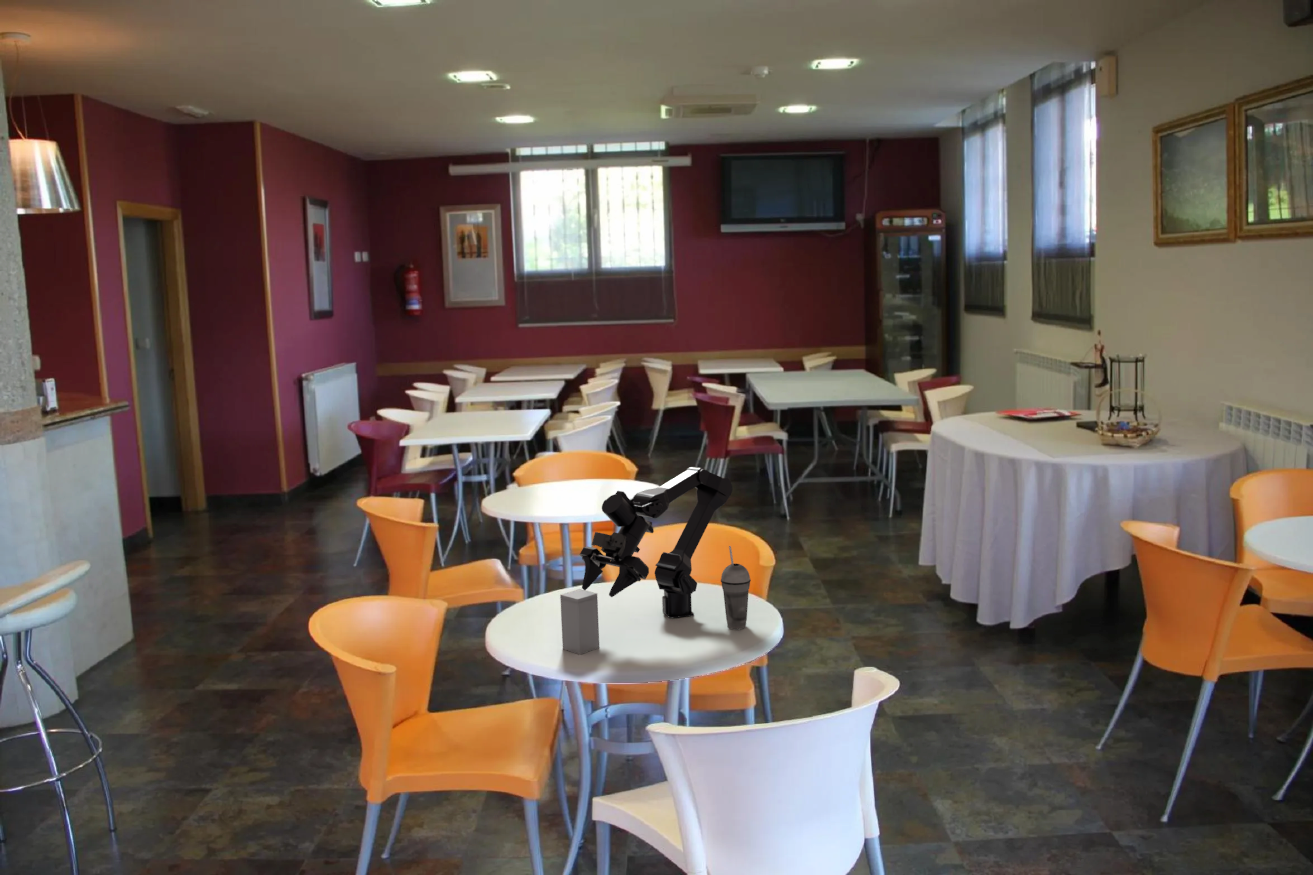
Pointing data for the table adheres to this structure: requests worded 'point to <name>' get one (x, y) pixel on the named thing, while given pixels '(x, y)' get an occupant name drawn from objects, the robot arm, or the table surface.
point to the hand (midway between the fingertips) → (596, 592)
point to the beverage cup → (735, 594)
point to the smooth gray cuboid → (579, 621)
